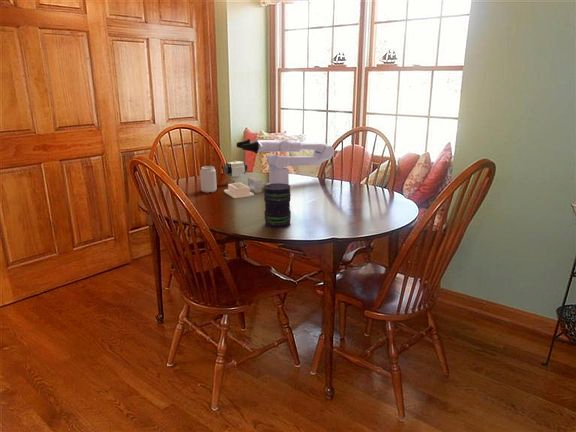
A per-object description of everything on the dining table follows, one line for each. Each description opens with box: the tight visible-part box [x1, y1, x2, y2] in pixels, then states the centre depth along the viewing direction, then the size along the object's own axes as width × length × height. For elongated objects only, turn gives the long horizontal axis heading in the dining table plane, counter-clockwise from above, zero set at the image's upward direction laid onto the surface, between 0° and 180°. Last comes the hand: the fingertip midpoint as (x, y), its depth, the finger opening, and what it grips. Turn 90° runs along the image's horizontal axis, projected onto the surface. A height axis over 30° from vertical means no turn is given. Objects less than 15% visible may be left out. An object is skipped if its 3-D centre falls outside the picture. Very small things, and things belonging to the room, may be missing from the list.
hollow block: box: [223, 182, 255, 199], centre depth 225 cm, size 10×14×4 cm
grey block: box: [247, 176, 262, 194], centre depth 230 cm, size 4×8×6 cm, turn 26°
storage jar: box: [263, 183, 292, 230], centre depth 177 cm, size 10×10×15 cm
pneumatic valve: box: [223, 159, 248, 184], centre depth 245 cm, size 6×12×12 cm, turn 126°
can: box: [199, 165, 218, 194], centre depth 229 cm, size 8×8×12 cm
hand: (239, 146), depth 226 cm, fingers open, 7 cm apart
